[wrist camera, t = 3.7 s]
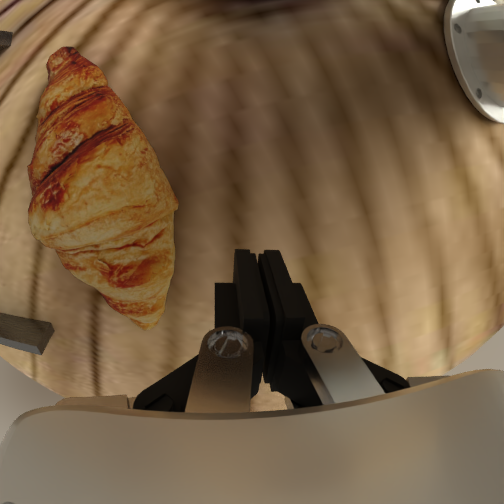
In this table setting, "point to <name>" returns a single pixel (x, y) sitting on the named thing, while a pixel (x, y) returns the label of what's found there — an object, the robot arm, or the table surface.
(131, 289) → the croissant
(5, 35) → the bent metal bracket
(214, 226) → the table surface
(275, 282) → the robot arm
